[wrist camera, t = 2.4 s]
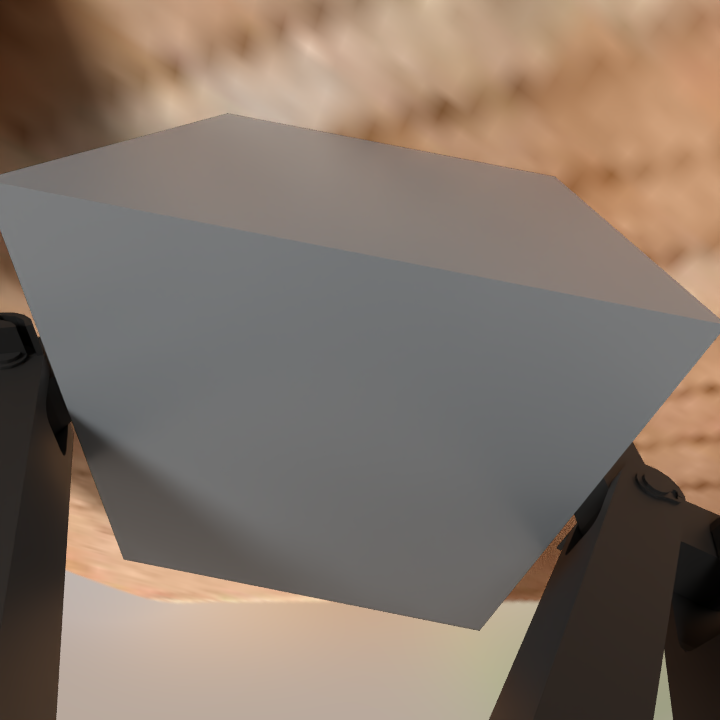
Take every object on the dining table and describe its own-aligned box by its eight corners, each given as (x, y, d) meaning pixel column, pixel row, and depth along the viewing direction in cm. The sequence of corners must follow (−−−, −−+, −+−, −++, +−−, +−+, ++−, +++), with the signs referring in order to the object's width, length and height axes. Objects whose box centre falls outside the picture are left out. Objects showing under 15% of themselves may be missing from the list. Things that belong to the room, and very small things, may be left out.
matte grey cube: (555, 176, 13) (726, 324, 6) (457, 414, 19) (479, 630, 12) (227, 113, 13) (-19, 179, 6) (236, 371, 19) (123, 559, 12)
